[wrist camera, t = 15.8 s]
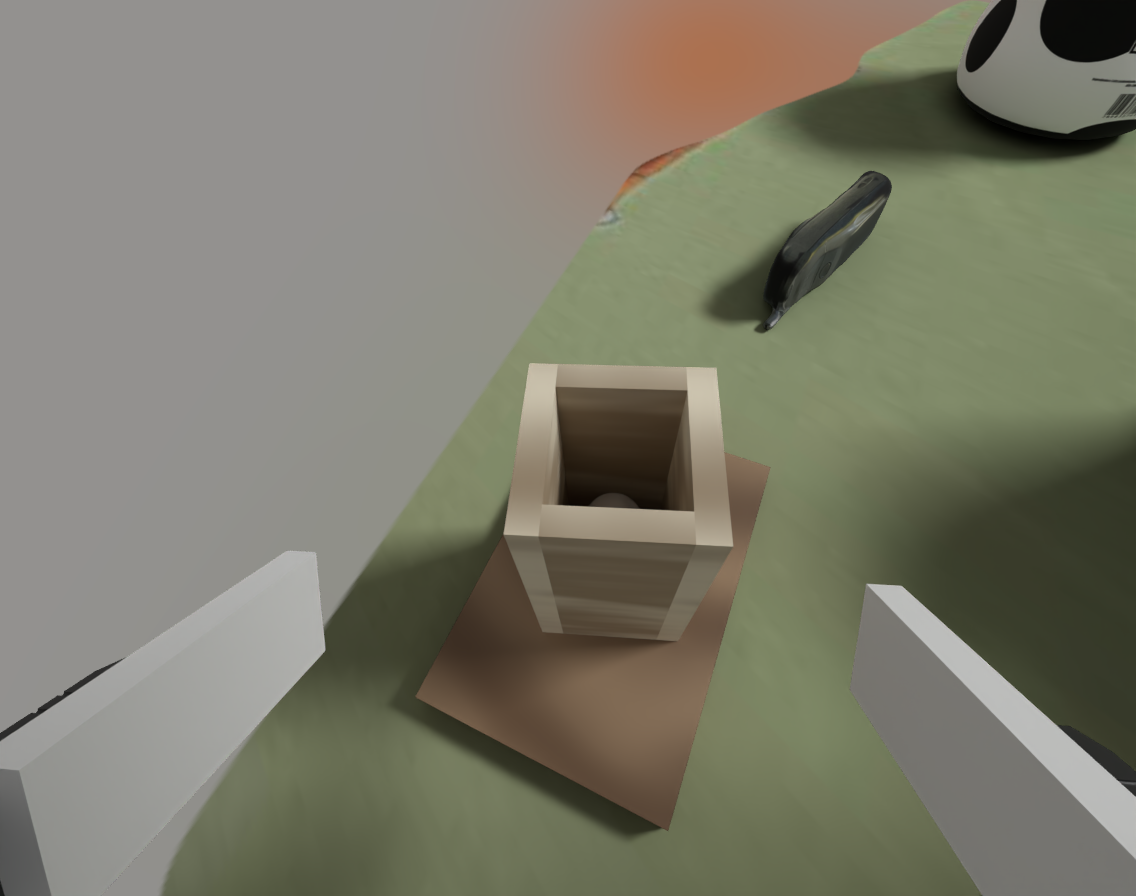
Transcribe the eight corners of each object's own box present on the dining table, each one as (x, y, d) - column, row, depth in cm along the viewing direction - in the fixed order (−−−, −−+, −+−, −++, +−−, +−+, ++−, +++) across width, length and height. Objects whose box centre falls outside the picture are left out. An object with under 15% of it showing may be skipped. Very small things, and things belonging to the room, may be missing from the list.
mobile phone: (866, 160, 39) (757, 258, 33) (906, 174, 38) (800, 278, 32) (839, 221, 43) (739, 318, 37) (874, 235, 42) (777, 337, 36)
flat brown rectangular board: (574, 417, 33) (567, 316, 26) (763, 480, 30) (815, 385, 23) (424, 701, 25) (351, 670, 18) (664, 827, 22) (696, 854, 15)
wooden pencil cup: (554, 510, 28) (529, 363, 18) (673, 516, 28) (716, 368, 18) (542, 632, 25) (503, 534, 15) (677, 641, 24) (733, 546, 14)
